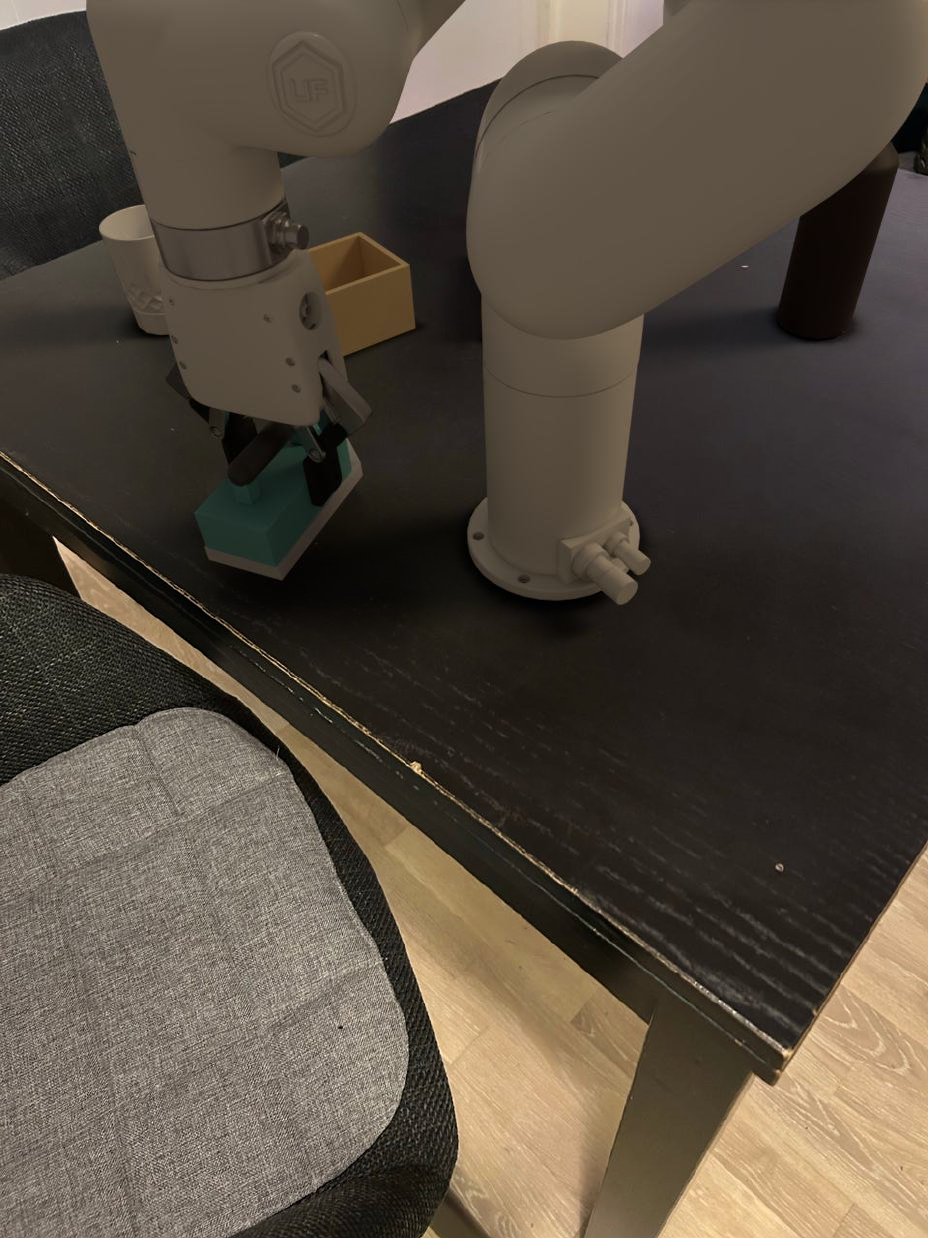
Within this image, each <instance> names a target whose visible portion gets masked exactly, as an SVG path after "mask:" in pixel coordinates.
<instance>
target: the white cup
mask: <svg viewBox="0 0 928 1238" xmlns="http://www.w3.org/2000/svg"><path fill="white" fill-rule="evenodd" d="M98 230H99V234H100V236H101V239H102V242H103V244H104V246H105V249H106V251H107V254H108V257H109V259H110V261H111V264H112V266H113V269H114V272H115V274H116V276H117V280H118V281H119V283H120V285H121V288H122V290H123V293H124V295H125V297H126V300H127V301H128V303H129V305H130V307H131V310H132V312H133V315H134V318H135V320H136V323H137V324H138V328H140V329H141V330H143V331H144V332H145V333H147V334H152V335H157V336H169V332H168V327H167V323H166V318H165V313H164V308H163V302H162V296H161V289H160V282H159V271H158V261H159V259H160V257H161V255H160V252H159V249H158V246H157V242H156V239H155V236H154V233H153V230H152V226H151V223H150V220H149V217H148V213H147V210H146V207H145V204H144V203H143V204H137V205H132V206H128V207H125V208H122V209H120V210H117V211H114V212H113V213H111V214H109V215H108V216H106V217H105V218H104V219H103V220H102V221H101V222H100V224H99V226H98Z"/></svg>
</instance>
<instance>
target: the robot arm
mask: <svg viewBox="0 0 928 1238" xmlns="http://www.w3.org/2000/svg"><path fill="white" fill-rule="evenodd" d="M85 1H86V2H85V12H86V19H87V23H88V27H89V32H90V34H91V35H90V36H91V39H92V42H93V44H94V49H95V51H96V54H97V57H98V60H99V63H100V67H101V70H102V73H103V77H104V80H105V83H106V87H107V89H108V92H109V95H110V99H111V103H112V105H113V109H114V112H115V115H116V118H117V121H118V124H119V128H120V131H121V134H122V137H123V140H124V144H125V146H126V150H127V153H128V156H129V159H130V163H131V165H132V168H133V172H134V175H135V178H136V181H137V184H138V188H139V191H140V194H141V198H142V201H143V205H144V204H145V207H146V210H147V213H148V217H149V220H150V223H151V226H152V230H153V233H154V236H155V239H156V242H157V246H158V249H159V252H160V255H161V257H160V259H159V261H158V271H159V282H160V289H161V296H162V302H163V308H164V313H165V318H166V323H167V327H168V332H169V334H168V336H169V339H170V343H171V347H172V350H173V354H174V358H175V360H174V361H173V363H172V365H171V366H170V367H169V369H168V372H167V373H166V375H165V377H164V380H165V382H166V384H168V386H169V387H171V388H172V389H173V390H174V391H175V392H177V394H178V395H180V396H181V397H182V398H183V399H184V400H185V401H187V400H188V404H189V406H190V408H191V409H192V410H193V411H194V412H195V413H196V414H197V415H198V416H200V417H201V419H203V420H204V421H205V422H206V423H207V424H208V432H209V434H210V435H211V436H212V437H213V438H214V439H216V440H218V441H221V446H222V449H223V453H224V455H225V459H226V462H227V465H228V466H229V465H230V463H231V462H232V461H233V460H234V459H235V458H236V457H237V456H238V455H239V454H240V453H241V452H242V451H243V449H244V448H245V447H246V446H247V445H248V444H249V443H250V442H251V441H252V440H253V439H254V438H255V437H256V436H257V435H258V433H259V432H258V430H257V426H256V423H255V422H254V418H257V419H260V420H261V419H262V420H265V421H269V422H270V421H275V422H280V423H285V424H291V426H292V428H293V430H294V431H295V433H296V435H297V437H298V438H299V440H300V442H301V444H302V446H303V447H304V449H305V451H306V453H307V454H308V455H307V456H306V457H305V459H304V460H303V469H304V473H305V477H306V481H307V484H308V489H309V493H310V497H311V502H312V503H313V505H314V506H318V507H323V505H324V504H325V503H326V502H327V500H328V499H329V498H330V496H331V495H332V494H333V493H334V492H336V491H337V490H338V488H339V487H340V485H341V483H342V472H341V466H340V461H339V456H338V451H337V447H338V446H339V445H340V444H341V443H342V442H343V441H344V440H345V439H346V438H348V439H349V437H351V436H353V435H354V434H355V433H356V432H358V431H359V430H361V429H362V428H363V427H364V426H365V425H366V423H367V422H368V421H369V420H370V419H371V417H372V416H373V415H374V410H373V408H372V406H370V405H369V404H368V402H367V401H366V400H365V399H364V398H363V397H362V396H361V394H359V393H358V391H357V390H356V389H355V388H354V387H353V386H352V385H351V384H350V383H349V382H348V374H347V368H346V364H345V359H344V356H343V353H342V349H341V345H340V341H339V337H338V333H337V329H336V325H335V321H334V318H333V315H332V311H331V308H330V304H329V301H328V299H327V296H326V293H325V290H324V287H323V284H322V282H321V279H320V277H319V274H318V272H317V269H316V267H315V265H314V262H313V260H312V258H311V256H310V254H309V252H308V250H307V249H306V248H307V247H308V245H309V241H310V233H309V229H308V226H307V225H306V224H305V223H297V222H296V221H295V220H293V219H292V218H291V213H290V207H289V202H288V200H287V196H286V192H285V186H284V181H283V177H282V175H283V174H282V171H281V165H280V161H279V156H278V152H279V153H284V154H290V155H294V156H295V155H296V156H301V157H306V158H307V157H308V158H316V159H317V158H318V159H334V158H335V159H337V158H342V157H348V156H351V155H354V154H356V153H359V152H361V151H363V150H365V149H367V148H368V147H370V146H371V145H372V144H374V143H375V142H376V141H377V140H378V139H379V138H381V136H382V135H383V134H384V133H385V131H386V130H387V128H388V126H389V125H390V123H391V122H392V120H393V118H394V116H395V114H396V111H397V109H398V106H399V104H400V101H401V97H402V95H403V91H404V89H405V85H406V81H407V78H408V75H409V73H410V70H411V67H412V65H413V61H414V60H415V58H416V57H417V56H418V54H419V53H420V51H422V49H424V48H425V46H426V45H427V44H428V43H429V41H431V39H432V38H433V37H434V36H435V35H436V33H438V31H439V30H440V29H441V28H442V27H443V26H444V25H445V24H446V22H447V21H449V19H450V18H451V17H452V16H453V15H454V14H455V13H456V11H457V10H458V9H460V7H461V6H462V5H463V4H464V3H465V2H466V0H85ZM927 80H928V0H663V6H662V25H661V26H660V27H659V28H657V29H656V30H655V31H653V33H651V35H649V36H647V38H646V39H644V40H643V41H642V42H641V43H639V44H638V46H636V47H635V48H634V49H632V50H631V51H630V52H628V53H627V54H626V55H625V56H624V57H622V56H621V55H620V54H618V53H617V52H615V51H613V50H612V49H609V48H608V47H605V46H603V45H601V44H598V43H594V42H591V41H585V40H563V41H557V42H553V43H549V44H547V45H544V46H542V47H538V48H537V49H535V50H533V51H532V52H530V53H528V54H527V55H525V56H524V57H523V58H521V59H520V60H519V61H517V62H516V63H515V64H514V65H513V66H512V67H511V68H510V69H509V70H508V71H507V72H506V73H505V75H504V76H503V77H502V78H501V79H500V81H499V82H498V84H497V85H496V87H495V89H494V90H493V91H492V94H491V95H490V98H489V100H488V101H487V104H486V106H485V108H484V111H483V113H482V118H481V120H480V123H479V128H478V131H477V135H476V142H475V147H474V153H473V154H474V155H473V160H472V167H471V183H470V188H469V194H468V201H467V208H466V209H467V210H466V220H465V221H466V222H465V224H466V225H465V241H466V251H467V258H468V263H469V266H470V271H471V273H472V277H473V279H474V282H475V284H476V287H477V288H478V290H479V292H480V294H481V295H480V296H481V299H482V329H481V336H482V383H483V385H482V387H483V413H484V414H483V415H484V441H485V442H484V444H485V468H486V469H485V471H486V473H485V474H486V497H485V498H484V499H482V500H481V501H480V503H479V504H478V505H477V506H476V507H475V508H474V511H473V512H472V515H471V516H470V518H469V521H468V526H467V530H466V532H467V535H466V536H467V548H468V552H469V556H470V558H471V560H472V562H473V564H474V566H475V567H476V568H477V569H478V571H479V572H480V573H481V574H482V575H483V577H485V578H486V579H488V581H490V582H491V583H492V584H494V585H496V586H498V587H499V588H501V589H503V590H505V591H507V592H509V593H513V594H515V595H519V596H521V597H523V598H524V597H525V598H529V599H530V598H531V599H535V600H540V601H541V600H543V601H566V600H576V599H579V598H585V597H588V596H592V595H594V594H597V593H600V592H603V593H604V594H605V595H606V596H607V597H608V598H609V599H611V600H612V601H613V602H614V603H615V604H616V605H618V606H623V605H625V604H628V602H629V601H630V600H632V599H633V598H634V596H635V594H636V593H637V591H638V588H639V584H638V582H637V581H636V580H635V579H634V578H633V577H631V576H630V575H629V574H627V573H628V572H629V571H631V572H632V573H633V574H635V575H637V576H641V575H643V574H645V573H646V572H647V570H648V569H649V568H650V566H651V564H652V561H651V559H650V558H649V557H648V556H647V555H645V553H643V552H642V551H640V550H639V546H640V539H641V535H640V534H641V533H640V527H639V526H640V525H639V523H638V521H637V518H636V516H635V514H634V512H633V511H632V510H631V508H630V507H629V505H628V504H627V503H626V502H625V501H623V493H624V485H625V476H626V470H627V469H626V467H627V461H628V460H627V459H628V451H629V444H630V443H629V442H630V435H631V426H632V425H631V424H632V417H633V409H634V400H635V391H636V381H637V373H638V365H639V361H640V356H641V355H640V354H641V347H642V339H643V330H644V329H643V328H644V319H645V314H646V313H649V312H650V311H651V310H653V309H655V308H657V307H658V306H660V305H661V304H663V303H665V302H666V301H668V300H670V299H671V298H673V297H674V296H676V295H678V294H679V293H681V292H683V291H684V290H686V289H687V288H689V287H691V286H692V285H694V284H696V283H697V282H698V281H700V280H702V279H704V278H705V277H707V276H709V275H710V274H712V273H713V272H715V271H716V270H718V269H720V268H721V267H723V266H724V265H726V264H727V263H729V262H731V261H732V260H734V259H735V258H737V257H738V256H740V255H741V254H743V253H745V252H746V251H748V250H750V249H751V248H753V247H754V246H755V245H757V244H759V243H760V242H762V241H764V240H765V239H767V238H769V237H770V236H772V235H773V234H775V233H776V232H779V230H781V229H783V228H784V227H786V226H788V225H789V224H791V223H792V222H794V221H795V220H797V219H799V218H800V216H802V215H803V214H805V213H806V212H808V211H809V210H811V209H812V208H814V207H815V206H817V205H818V204H820V203H821V202H823V201H824V200H826V199H827V198H829V197H830V196H831V195H833V194H834V193H835V192H837V191H838V190H840V189H841V188H842V187H844V186H845V185H846V184H847V183H848V182H850V181H851V180H852V179H853V178H854V177H855V176H857V175H858V174H859V173H860V172H861V171H862V170H863V169H864V168H865V167H866V166H867V165H868V164H869V163H870V162H871V161H872V160H873V159H874V158H875V157H876V156H877V155H878V154H879V153H880V152H881V151H882V150H883V148H884V147H885V146H886V145H887V144H888V143H889V141H891V140H892V139H893V138H894V137H895V135H897V133H898V131H899V130H900V129H901V127H902V126H903V125H904V123H905V122H906V120H907V119H908V118H909V115H910V114H911V112H912V111H913V109H914V107H915V106H916V104H917V102H918V101H919V98H920V96H921V93H922V91H923V90H924V88H925V86H926V83H927ZM327 401H328V402H327ZM328 403H330V405H332V407H333V408H334V409H335V410H336V411H337V412H338V414H339V416H338V417H337V418H336V417H334V416H335V415H333V414H334V413H333V411H332V409H331V408H330V406H329V405H328ZM330 409H331V410H330ZM331 411H332V412H331ZM332 413H333V414H332ZM335 418H336V419H335ZM315 424H318V426H319V428H320V430H321V433H320V434H319V435H317V433H316V431H315V429H314V427H313V425H315Z"/></svg>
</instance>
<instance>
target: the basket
mask: <svg viewBox="0 0 928 1238" xmlns="http://www.w3.org/2000/svg"><path fill="white" fill-rule="evenodd" d="M306 250H308V252H309V254H310V256H311V258H312V260H313V262H314V265H315V267H316V269H317V272H318V274H319V277H320V279H321V282H322V284H323V287H324V290H325V293H326V296H327V299H328V301H329V304H330V308H331V311H332V315H333V318H334V321H335V325H336V329H337V333H338V337H339V341H340V345H341V349H342V353H343V357H345V356H348V355H351V354H353V353H355V352H359V351H361V350H363V349H366V348H369V347H371V346H374V345H376V344H378V343H381V342H383V341H387V340H389V339H392V338H395V337H397V336H399V335H401V334H404V333H407V332H410V331H412V330H415V329H416V319H415V310H414V298H413V288H412V277H411V267H410V264H409V263H408V262H406V261H405V260H404V259H402V258H400V257H399V256H397V255H396V254H395V253H393V252H391V250H388V249H387V248H385V247H384V246H383V245H381V244H380V243H379V242H377V241H375V240H374V239H373V238H370V236H368V235H366V234H365V233H363V232H362V231H358V232H355V233H352V234H349V235H346V236H343V237H340V238H337V239H333V240H331V241H328V242H326V243H322V244H318V245H316V246H313V247H311V248H308V249H306Z"/></svg>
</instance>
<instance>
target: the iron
mask: <svg viewBox="0 0 928 1238" xmlns="http://www.w3.org/2000/svg"><path fill="white" fill-rule="evenodd" d="M330 410H331V412H332V414H333V415H334V413H333V410H332V409H331V408H330ZM334 417H335V415H334ZM335 419H337V418H336V417H335ZM313 427H314V429H315V431H316V433H317V435H319V434H320V433H321V430H320V428H319V426H318V424H315V425H313ZM257 433H258V435H257V436H256V437H255V438H254V439H253V440H252V441H251V442H250V443H249V444H248V445H247V446H246V447H245V448H244V449H243V451H242V452H241V453H240V454H239V455H238V456H237V457H236V458H235V459H234V460H233V461H232V462H231V463H230V465H228V467H227V470H226V471H227V476H226V477H225V479H223V481H222V482H221V483H220V484H219V485H218V486H217V487H216V488H215V489H214V490H213V491H212V492H211V494H209V496H207V498H206V499H205V500H204V501H203V502H202V503H201V504H200V505H199V507H197V509H196V510H195V511H194V512H193V514H194V517H195V520H196V523H197V526H198V529H199V531H200V534H201V537H202V540H203V542H204V544H205V546H204V551H205V554H206V556H207V559H208V560H209V561H212V562H216V563H219V564H222V565H227V566H229V567H234V568H237V569H240V570H244V571H247V572H251V573H254V574H258V575H262V576H263V577H264V576H265V577H268V578H271V579H275V580H279V581H284V579H285V577H286V576H287V575H288V574H289V572H290V571H291V570H292V568H294V566H295V564H296V563H297V562H298V560H299V559H300V558H301V557H302V555H303V554H304V553H305V552H306V550H307V549H308V547H309V546H310V545H311V543H312V542H313V541H314V540H315V538H316V537H317V536H318V534H319V533H320V531H321V530H322V529H324V526H325V525H326V524H327V523H328V522H329V520H330V519H331V517H332V516H333V515H334V513H335V512H336V511H337V510H338V508H339V507H340V506H341V505H342V503H343V502H344V500H345V499H346V498H347V497H348V495H349V494H350V493H351V492H352V490H353V489H354V487H355V486H356V485H357V484H358V483H359V481H360V480H361V479H362V477H363V476H364V475H363V468H362V463H361V461H360V459H359V457H358V455H357V453H356V452H355V450H354V448H353V446H352V444H351V442H350V441H349V437H348V438H346V439H345V440H344V441H343V442H342V443H341V444H340V445H339V446H338V447H337V451H338V456H339V461H340V466H341V472H342V483H341V485H340V487H339V488H338V490H337V491H336V492H334V493H333V494H332V495H331V496H330V498H329V499H328V500H327V502H326V503H325V504H324V505H323V507H318V506H314V505H313V503H312V502H311V497H310V493H309V489H308V484H307V481H306V477H305V473H304V469H303V460H304V459H305V457H306V456H307V455H308V454H307V453H306V451H305V449H304V447H303V446H302V444H301V442H300V440H299V438H298V437H297V435H296V433H295V431H294V430H293V428H292V426H291V424H285V423H280V422H275V421H270V420H269V421H268V423H267V424H266V425H265V426H264V427H262V429H261V430H260V431H259V432H257Z"/></svg>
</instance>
